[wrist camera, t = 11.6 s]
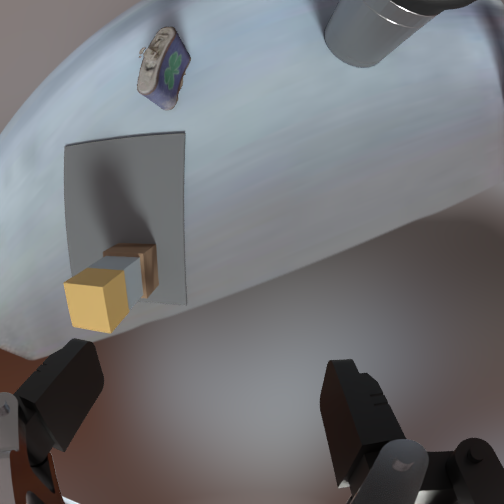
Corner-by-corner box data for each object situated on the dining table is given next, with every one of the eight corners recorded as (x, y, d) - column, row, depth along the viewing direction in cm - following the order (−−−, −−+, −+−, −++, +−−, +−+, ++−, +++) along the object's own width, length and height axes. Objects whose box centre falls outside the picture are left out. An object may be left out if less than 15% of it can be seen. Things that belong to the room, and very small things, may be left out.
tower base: (118, 243, 38) (102, 251, 33) (156, 244, 38) (143, 253, 33) (122, 281, 40) (108, 294, 35) (158, 284, 40) (147, 298, 35)
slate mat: (66, 146, 35) (64, 146, 34) (185, 133, 35) (184, 133, 34) (76, 293, 41) (75, 294, 41) (187, 304, 41) (186, 305, 40)
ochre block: (87, 267, 29) (63, 282, 24) (124, 270, 29) (102, 287, 24) (93, 307, 30) (72, 326, 25) (129, 311, 30) (111, 333, 25)
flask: (174, 112, 34) (146, 90, 23) (155, 109, 34) (121, 88, 23) (194, 53, 32) (174, 17, 21) (175, 51, 31) (150, 17, 21)
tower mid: (106, 255, 33) (86, 267, 29) (139, 257, 33) (123, 270, 29) (110, 291, 35) (93, 307, 30) (143, 294, 35) (128, 311, 30)
